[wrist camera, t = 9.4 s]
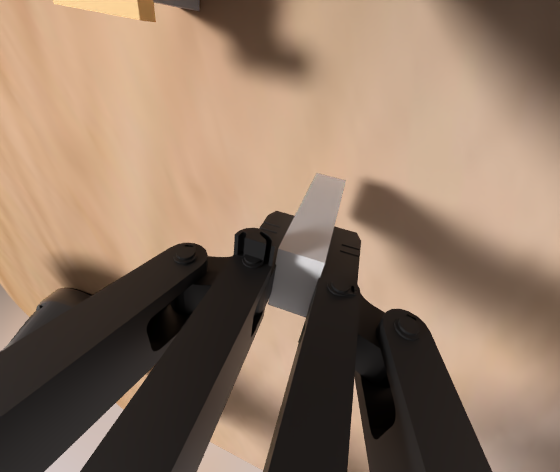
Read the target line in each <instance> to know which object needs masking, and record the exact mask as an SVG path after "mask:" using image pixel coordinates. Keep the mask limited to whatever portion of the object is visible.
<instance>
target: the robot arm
mask: <svg viewBox="0 0 560 472" xmlns="http://www.w3.org/2000/svg"><path fill="white" fill-rule="evenodd" d="M345 182H346V180H342V179H338V178H335V177H331V176H327V175H323V174H319V173H316V175H315V177H314V179H313V181H312V183H311V185H310V187H309V189H308V191H307V193H306V195H305V197H304V199H303V201H302V203H301V205H300V207H299V209H298V211H297V212H296V214H295V216H293V215H289V214H286V213H282V212H279V211H275V212H273V213H271V214H269V215H268V216H267V218H266V219H265V221H264V223H263V224H262V225H261V226H260V229H258V228H246V229H243V230H240V231H239V232H237V233H236V234H235V242H234V255H233V256H231V257H211V256H208V255H207V252H206V250H205V249H204V248H203V247H202V246H200V245H197V244H195V243H182V244H177V245H175V246H173V247H170V248H169V249H167V250H166V251H164V252H162V253H161V254H159V255H157V256H156V257H154V258H152V259H151V260H149V261H148V262H146V263H144V264H143V265H141V266H139V267H138V268H136V269H135V270H133V271H131V272H130V273H128V274H126V275H125V276H123V277H121V278H120V279H118V280H117V281H115V282H113V283H112V284H110V285H108V286H107V287H105V288H104V289H102V290H100V291H99V292H97V293H95V294H94V295H92V296H90V295H88V294H86V293H84V292H81V291H78V290H74V289H70V288H60V289H58V290H56V291H55V292H53V293H52V294H51V295H49V296H48V297H47V298H45V299H44V300H43V301H42V302H40V304H39V305H38V306H37V309H36V311H35V312H34V313H33V314H32V316H31V317H30V318H29V319H28V320H27V321H26V322H25V324H24V325H23V326H22V327H21V328H20V330H19V331H18V333H17V334H16V335H15V336H14V338H13V339H12V340H11V341H10V343H9V344H8V345H7V346H6V347H5V348H4V349H3V350H1V351H0V472H44V471H45V470H46V469H47V468H48V467H49V466H50V465H52V464H53V463H54V462H55V461H56V460H57V459H58V458H59V457H60V456H61V455H62V454H63V453H64V452H65V451H66V450H67V449H68V448H69V447H70V446H71V445H72V444H73V443H74V442H75V441H76V440H78V439H79V438H80V436H82V435H83V434H84V433H85V432H86V431H87V430H88V429H89V428H90V427H91V426H92V425H93V424H94V423H95V422H96V421H97V420H98V419H99V418H100V417H101V416H102V415H103V414H104V413H106V411H108V410H109V409H110V407H112V406H113V405H114V404H115V403H116V402H117V401H118V400H119V399H120V398H121V397H122V396H123V395H124V394H125V393H126V392H127V391H128V390H129V389H131V388H132V387H133V386H134V385H135V384H136V383H137V382H138V381H139V380H140V379H141V378H142V377H143V376H144V375H145V374H146V373H147V372H148V371H149V370H150V369H151V368H152V367H153V366H154V365H155V364H156V363H157V364H156V365H155V366H154V368H153V369H152V371H151V372H150V374H149V375H148V376H147V378H146V379H145V381H144V382H143V383H142V385H141V386H140V388H139V389H138V390H137V392H136V393H135V395H134V396H133V398H132V399H131V400H130V402H129V403H128V405H127V406H126V407H125V409H124V410H123V412H122V413H121V414H120V416H119V417H118V419H117V420H116V422H115V423H114V424H113V426H112V427H111V429H110V430H109V432H108V433H107V434H106V436H105V437H104V439H103V440H102V441H101V443H100V444H99V446H98V447H97V449H96V450H95V451H94V453H93V454H92V455H91V457H90V458H89V460H88V461H87V463H86V464H85V465H84V467H83V468H82V470H81V471H80V472H197V470H198V467H199V465H200V463H201V460H202V458H203V456H204V453H205V451H206V449H207V446H208V444H209V442H210V439H211V437H212V435H213V432H214V430H215V428H216V425H217V423H218V421H219V418H220V416H221V414H222V412H223V409H224V407H225V405H226V402H227V400H228V398H229V395H230V393H231V391H232V388H233V386H234V384H235V381H236V379H237V377H238V374H239V372H240V370H241V367H242V365H243V363H244V360H245V358H246V356H247V353H248V351H249V349H250V346H251V344H252V342H253V340H254V337H255V335H256V333H257V330H258V328H259V326H260V323H261V321H262V319H263V316H264V310H265V306H266V304H267V302H268V300H269V302H268V304H269V305H271V306H274V307H277V308H280V309H283V310H286V311H289V312H292V313H295V314H298V315H300V316H303V317H306V320H305V323H304V326H303V329H302V332H301V335H300V338H299V341H298V343H299V344H298V347H297V351H296V355H295V358H294V362H293V365H292V369H291V373H290V376H289V380H288V383H287V387H286V391H285V394H284V398H283V401H282V405H281V409H280V412H279V416H278V420H277V423H276V427H275V430H274V434H273V438H272V441H271V445H270V448H269V452H268V456H267V459H266V463H265V466H264V470H263V472H347V466H348V453H349V440H350V427H351V414H352V401H353V388H354V377H355V383H356V389H357V395H358V401H359V408H360V414H361V420H362V426H363V433H364V439H365V445H366V451H367V457H368V464H369V470H370V472H492V470H491V468H490V466H489V463H488V461H487V459H486V457H485V454H484V452H483V450H482V448H481V445H480V443H479V441H478V439H477V436H476V434H475V432H474V429H473V427H472V425H471V423H470V420H469V418H468V416H467V414H466V411H465V409H464V407H463V405H462V402H461V400H460V398H459V396H458V393H457V391H456V389H455V387H454V384H453V382H452V380H451V378H450V375H449V373H448V371H447V369H446V366H445V364H444V362H443V360H442V357H441V355H440V353H439V350H438V348H437V346H436V344H435V341H434V339H433V337H432V335H431V332H430V331H429V329H428V328H427V326H426V324H425V323H424V322H423V321H422V320H421V319H420V318H418V317H417V316H416V315H414V314H412V313H410V312H409V311H405V310H402V309H391V310H389V311H387V312H386V313H385V312H383V311H381V310H380V309H378V308H376V307H375V306H373V305H372V304H370V303H369V302H368V301H367V300H366V299H365V298H364V297H363V296H362V295H361V293H360V289H359V287H358V285H357V280H358V269H359V257H360V247H361V240H360V238H359V236H358V234H357V233H355V232H352V231H348V230H345V229H341V228H338V227H334V225H335V221H336V217H337V213H338V209H339V206H340V202H341V198H342V194H343V190H344V186H345Z"/></svg>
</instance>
